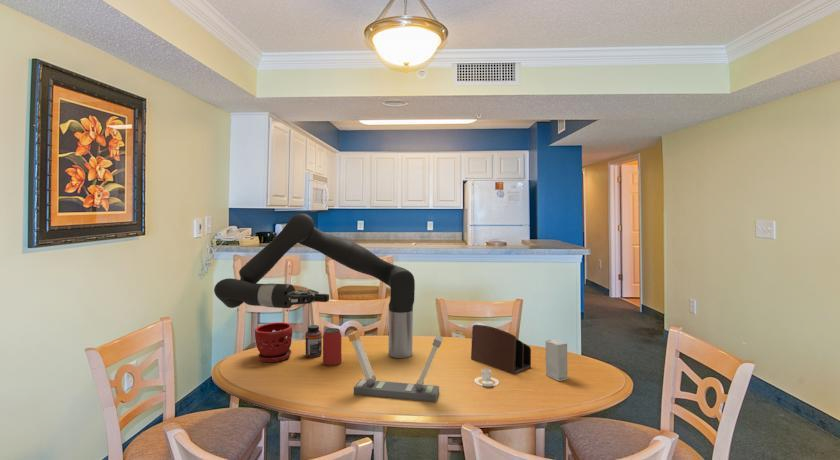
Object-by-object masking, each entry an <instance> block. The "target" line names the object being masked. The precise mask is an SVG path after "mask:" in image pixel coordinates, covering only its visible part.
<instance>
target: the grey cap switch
mask: <svg viewBox="0 0 840 460" xmlns="http://www.w3.org/2000/svg"><path fill="white" fill-rule="evenodd" d="M443 340H444V337H442V336H440V335H438V334H436V335H435V337H434V339H433V342H432V345H431V346H432V348H431V350H430V353H429V354H428V357H427V360H426V362H425V364H424V366H423V369H422V372H421V374H420V376H419V378H418V380H417V381H416V383H415V384H416V385H415V389H416V390H421V388H422V386H423V385H425V384H424V382H425V379H426V377H427V374H428V372H429V369H430V367H431V364H432V362H433V359H434V358H435V355H436V353H437V350H438V349H439V348H440V346H441V345H442V342H443Z"/></svg>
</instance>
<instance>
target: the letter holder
mask: <svg viewBox="0 0 840 460" xmlns="http://www.w3.org/2000/svg"><path fill="white" fill-rule="evenodd" d="M471 331H472V332H471V334H472V335H471V348H470V349H471V350H470V351H471V354H470V359H471V360H473V361H475V362H478V363H481V364H483V365H487V366H489V367H492V368H495V369H497V370H500V371H503V372H505V373H508V374H511V375H518V374H520V373H522V372H524V371H526V370H529V369H531V367H532V350H531V349H532V348H531V347H530V345H528V344H526V343H524V342H522V341H521V340H519V339H517V337H516V335H514V334H511V332H510V333H509V332H507V331H505V330H502V329H499V328H496V327H494V326H490V325H489V326H488V325H483V324H473V325H472V329H471Z"/></svg>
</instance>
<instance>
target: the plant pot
mask: <svg viewBox="0 0 840 460" xmlns="http://www.w3.org/2000/svg"><path fill="white" fill-rule="evenodd" d="M292 337H293V326H292V324H291V323H289V322H270V323H266V324H262V325H259V326H258V327H256V328H255V329H254V338H255V345H256V348H257V351H258V353H259V354H258V356H257V357H258V358H259V360H260V361H263V362H266V363H277V362H281V361H284V360H286V359H288V358H289V357H290V356H291V354H292V349H290V348H291V345H292Z"/></svg>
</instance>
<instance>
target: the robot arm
mask: <svg viewBox="0 0 840 460" xmlns="http://www.w3.org/2000/svg"><path fill="white" fill-rule="evenodd" d="M297 244H299V245H302V246H305V247H307V248H309V249H313V250H315V251H317V252H319V253H321V254H323V255H324V256H325V257H328V258H330V259H331V260H333V261H334V262H337V263H339V264H341V265H343V266H345V267H347V268H348V269H351V270H353V271H355V272H358V273H361V274H365V275H367V276H371V277H374V278H376V279H377V280H378V281H381V282H382V283H383V284H386V285H387V286H389V288H390V293H389V295H390V297H389V298H390V299H389V303H388V356H389V357H391V358H394V359H406V358H410V357H411V356H413V341H414V340H413V336H414V335H413V333H414V331H413V330H414V329H413V327H414V326H413V325H414V324H413V323H414V322H413V321H414V317H413V316H414V315H413V314H414V311H413V310H414V309H413V308H414V304H415V289H416V287H415V286H416V285H415V284H416V283H415V277H414V274H413V273H412V272H411V271H409V270H408V269H407V268H404V267H401V266H398V265H396V264H393V263H391V262H388V261H386V260H384V259H382V258H380V257H379V256H377V255H376V254H375V253H373V252H371V251H370V250H368V249H367V248H366V247H364V246H362V245H360V244H358V243H357V242H354V241H352V240H349V239H346V238H343V237H341V236H340V237H339V236H336V235H331V234H328V233H326V232H325V231H322V230H321V229H318V228H317V227H315V222H314V219H313V218H312V217H311V216H310V215H308V214H306V213H297V214H294V215H293V216H291V217H290V218H289V220H288V221H287V223H286V224H285V226H284V227H283V228H282V230H281V231H280V232H279V233H278V234H277V235H276V236H275V237H274V238H273V239H272V240H271V241H270V242H269V243H267V245H266V246H265V247H264V248H262V249H261V250H260V251H258V252H257V254H255V255H254V256H253V257H252V258H251V259H249V261H248V262H246V263H245V264H244V265H243V266H242V267H240V269H239V270H238V271H239V272H238V273H239V277H240V278H239V279H238V278H224V279H221V280H220V281H217V282H216V284H215V286H214V289H213V293H214V295H215V296H216V297H217V299H218V300H219V301H221V303H223V304H224V306H225V307H227V308H230V309H234V308H238V307H239V306H241V305H242V304H247V305H248V306H255V307H265V308H275V309H276V308H277V309H278V308H279V309H290V308H292V307H293V306H296V305H297V306H298V305H306V304H308V305H309V304H311V303H316V302H317V303H328V302H329V300H330V294H328V293H319V291H318V290H314V289H307V290H305V289H300V288H299V289H297V290H296V289H295V286H294V285H292V284H291V283H273V282H272V283H258V282H259V281H260V280H261V279H263V278H264V277H265V275H267V274H268V273H269V272H270V271H271V270H272V269H273V268H274V266H276V265H277V263H278V262H279V261H280V260H281V259H282V258H283V257H284V255H286V254H287V252H289V251H290V250H291V249H292V248H293V247H294V246H296V245H297Z"/></svg>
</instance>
